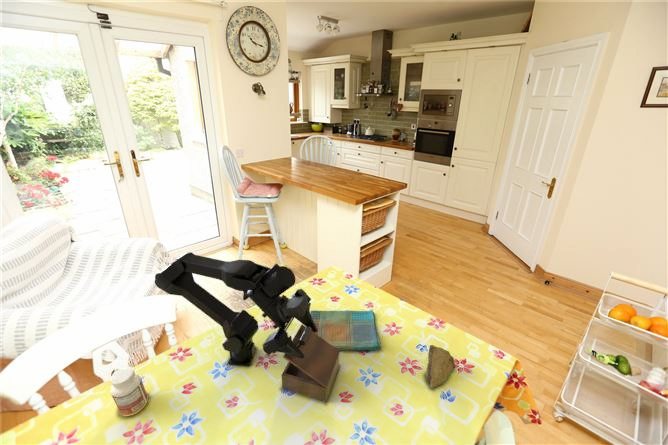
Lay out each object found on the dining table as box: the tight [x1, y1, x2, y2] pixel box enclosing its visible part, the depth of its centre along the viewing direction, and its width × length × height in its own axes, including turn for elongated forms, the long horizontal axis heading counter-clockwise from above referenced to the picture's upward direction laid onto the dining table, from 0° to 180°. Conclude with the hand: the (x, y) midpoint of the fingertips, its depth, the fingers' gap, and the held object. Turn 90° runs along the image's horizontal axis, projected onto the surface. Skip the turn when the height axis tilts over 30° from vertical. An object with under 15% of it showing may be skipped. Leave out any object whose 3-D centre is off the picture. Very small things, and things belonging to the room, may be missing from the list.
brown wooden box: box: [280, 354, 340, 403], centre depth 81 cm, size 13×12×5 cm
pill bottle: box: [109, 366, 149, 417], centre depth 72 cm, size 6×6×11 cm
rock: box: [425, 344, 456, 390], centre depth 82 cm, size 11×9×10 cm
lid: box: [282, 323, 341, 388], centre depth 77 cm, size 13×12×5 cm
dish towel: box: [310, 309, 382, 351], centre depth 97 cm, size 17×23×3 cm
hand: (310, 343), depth 77 cm, fingers open, 9 cm apart
